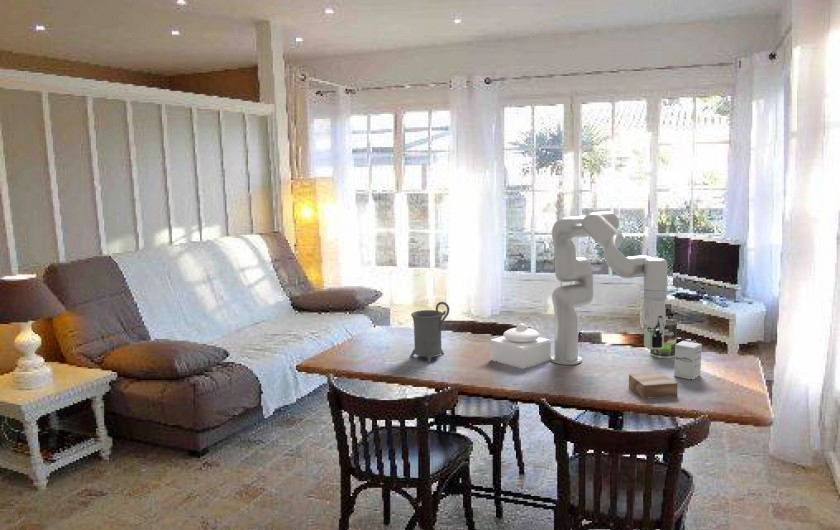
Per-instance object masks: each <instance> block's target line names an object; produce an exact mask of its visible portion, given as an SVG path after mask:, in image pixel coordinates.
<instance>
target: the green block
mask: <svg viewBox="0 0 840 530" xmlns="http://www.w3.org/2000/svg"><path fill="white" fill-rule="evenodd" d="M657 330H659V329H656V331H657ZM652 336H654V335H653V329H646V328H644V329H643V346H644V347H645V348H646V349H648V350H651V349H664V332H663V336H662V347H660V348H653V347H652Z"/></svg>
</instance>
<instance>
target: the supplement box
mask: <svg viewBox="0 0 840 530" xmlns="http://www.w3.org/2000/svg"><path fill="white" fill-rule="evenodd" d="M702 347H703V344H702V343H697V342H691V341H688V340H687V341H686V340H682V341H680V342H678V343H677V342H676V345H675V357H674V370H673V376H674V377H677V378H682V379H685V380H686V379H687V380H690V379H692V380H691V381H694V380H696V379H697V378H699V377H700V376H701V366H702V351H703V350H702V349H703V348H702ZM698 376H699V377H698ZM695 378H696V379H695ZM693 379H694V380H693Z"/></svg>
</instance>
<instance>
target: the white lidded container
mask: <svg viewBox="0 0 840 530" xmlns="http://www.w3.org/2000/svg"><path fill="white" fill-rule="evenodd" d="M489 342H490V361H492V360H493V362H496V361H497V363H499V362H500V364H504V365H506V364H507V366H510V365H511V366H510V367H513V366H514V368H517V367H518V368H517V369H520V368H521V369H520V370H525V369H528V368H531V367H534V366H537V365H539V364H540V365H541V364H543V363H546V362H549V361H551V356H552V355H551V353H552V348H551V347H552V345H551V343H552V341H551V340H550V339H549V338H544V337H540V333H539V331H537V330H535V329H533V328H530V327H529V328H528V326H527V325H526V324H525V323H523V322H520V323H518V324H517V325H516V327H512V328H509V329H507V330H506V331H504V332H503V336H498V337H496V338H492V339H490V340H489ZM542 362H543V363H542ZM536 364H537V365H536ZM530 366H531V367H530ZM527 367H528V368H527ZM524 368H525V369H524Z"/></svg>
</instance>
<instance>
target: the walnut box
mask: <svg viewBox="0 0 840 530" xmlns="http://www.w3.org/2000/svg"><path fill="white" fill-rule="evenodd" d="M628 388H630V389H631V388H632V389H633V390H632V389H631V390H632V391H634V392H635V391H636V392H637V393H638V395H639V394H640V395H641V396H642V397H641V396H640V395H639V396H640V397H641V398H643V397H644V398H643V399H649V398H648V397H658V398H668V397H667V396H673V397H678V382H676V381H674V380H673V379H672V378H670V377H669V376H667V375H666V374H663V373H662V372H648V373H632V374H629V375H628ZM636 392H635V393H636ZM637 393H636V394H637ZM665 396H666V397H665Z"/></svg>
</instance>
